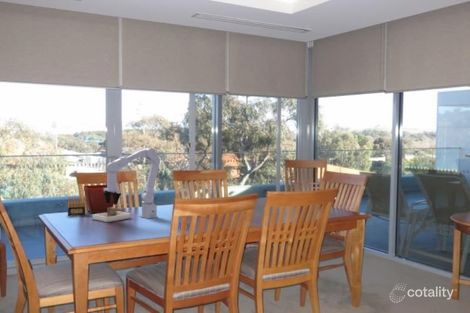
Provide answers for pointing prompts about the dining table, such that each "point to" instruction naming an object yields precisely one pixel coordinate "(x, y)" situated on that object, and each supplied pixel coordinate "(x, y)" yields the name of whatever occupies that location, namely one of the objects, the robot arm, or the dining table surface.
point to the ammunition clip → (72, 207)
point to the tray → (111, 217)
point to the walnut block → (111, 211)
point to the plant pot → (97, 198)
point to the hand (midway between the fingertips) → (111, 203)
